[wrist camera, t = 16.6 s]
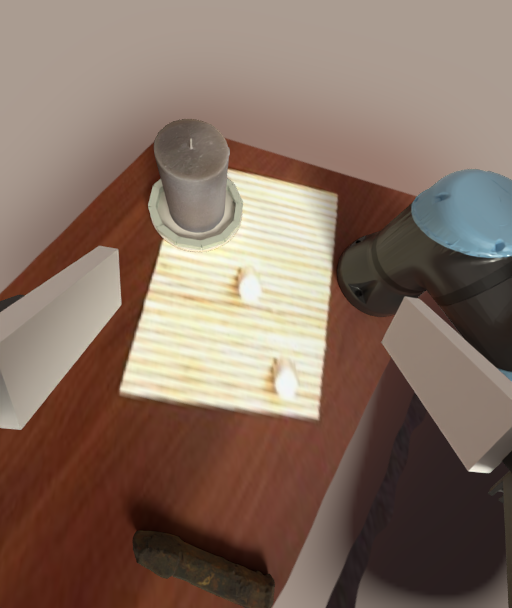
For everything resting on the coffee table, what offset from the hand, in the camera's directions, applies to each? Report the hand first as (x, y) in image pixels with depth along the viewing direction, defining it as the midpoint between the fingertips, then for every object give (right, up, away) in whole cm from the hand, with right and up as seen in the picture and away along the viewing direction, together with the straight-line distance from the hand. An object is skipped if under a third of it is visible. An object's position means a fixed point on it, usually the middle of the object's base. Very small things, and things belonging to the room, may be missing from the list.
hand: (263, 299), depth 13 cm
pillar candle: (-11, +16, +36) cm, 41 cm away
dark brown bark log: (-8, -35, +24) cm, 43 cm away
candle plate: (-11, +16, +37) cm, 42 cm away
